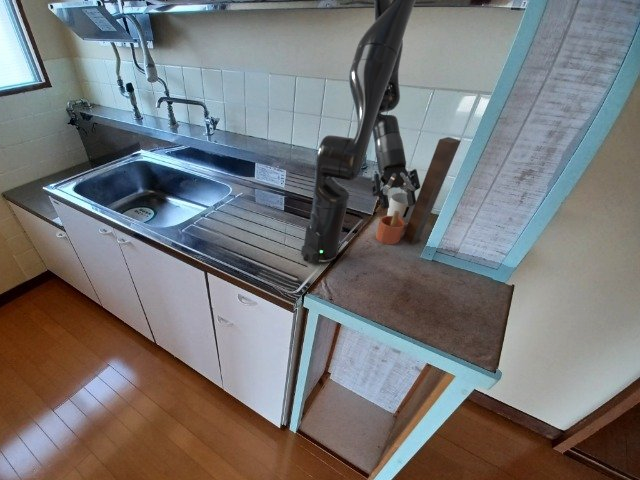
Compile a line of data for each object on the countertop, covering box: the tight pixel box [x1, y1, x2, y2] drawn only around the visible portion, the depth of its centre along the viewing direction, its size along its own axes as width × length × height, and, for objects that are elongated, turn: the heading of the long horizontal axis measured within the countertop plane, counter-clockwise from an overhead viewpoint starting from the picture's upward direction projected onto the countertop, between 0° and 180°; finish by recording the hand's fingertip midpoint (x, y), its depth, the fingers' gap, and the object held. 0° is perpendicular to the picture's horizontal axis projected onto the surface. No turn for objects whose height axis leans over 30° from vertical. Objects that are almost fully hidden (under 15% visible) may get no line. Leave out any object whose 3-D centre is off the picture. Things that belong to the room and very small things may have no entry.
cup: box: [386, 192, 418, 224], centre depth 106 cm, size 8×8×10 cm
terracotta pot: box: [375, 215, 407, 245], centre depth 102 cm, size 7×7×6 cm
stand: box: [401, 136, 462, 245], centre depth 93 cm, size 4×4×30 cm
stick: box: [390, 211, 400, 227], centre depth 101 cm, size 3×3×9 cm
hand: (399, 207), depth 96 cm, fingers open, 8 cm apart
